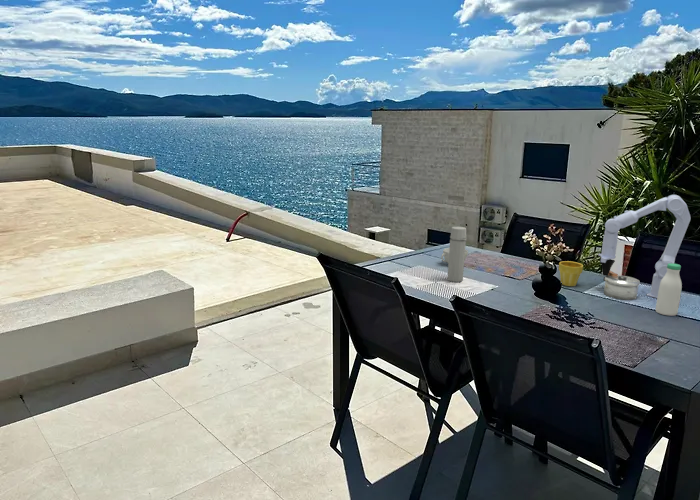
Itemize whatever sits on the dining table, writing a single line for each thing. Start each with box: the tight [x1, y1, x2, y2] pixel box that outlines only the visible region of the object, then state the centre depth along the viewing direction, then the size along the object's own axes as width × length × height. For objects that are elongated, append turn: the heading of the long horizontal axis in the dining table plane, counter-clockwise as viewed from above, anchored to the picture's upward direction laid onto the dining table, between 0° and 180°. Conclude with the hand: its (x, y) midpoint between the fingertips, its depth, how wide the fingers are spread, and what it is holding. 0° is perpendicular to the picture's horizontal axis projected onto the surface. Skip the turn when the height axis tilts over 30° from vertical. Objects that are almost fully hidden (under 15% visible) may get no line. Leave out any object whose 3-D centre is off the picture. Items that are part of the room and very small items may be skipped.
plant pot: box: [558, 260, 584, 287], centre depth 252 cm, size 10×10×10 cm
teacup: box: [440, 247, 469, 264], centre depth 280 cm, size 15×12×8 cm
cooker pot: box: [603, 276, 639, 301], centre depth 241 cm, size 18×13×6 cm
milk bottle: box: [655, 263, 683, 317], centre depth 215 cm, size 8×8×20 cm
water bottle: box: [447, 226, 468, 283], centre depth 252 cm, size 9×8×25 cm
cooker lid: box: [604, 270, 641, 287], centre depth 240 cm, size 19×14×2 cm
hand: (605, 275), depth 246 cm, fingers closed, pressing on cooker lid
